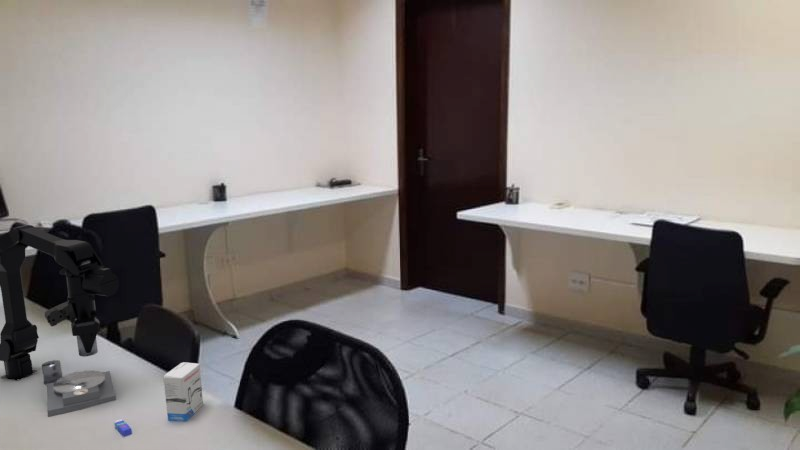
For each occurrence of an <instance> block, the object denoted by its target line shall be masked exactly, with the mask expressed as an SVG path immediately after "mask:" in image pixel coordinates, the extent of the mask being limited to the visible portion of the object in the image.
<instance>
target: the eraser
mask: <svg viewBox="0 0 800 450" xmlns="http://www.w3.org/2000/svg"><path fill="white" fill-rule="evenodd" d="M113 425H114V428H115V430H116V431H118V433H120V435H121V436H122V437H123V438H124V437H127V436H130V435H132V434H133V432H132V431H133V430H132V427H130V425H129V424H127V423H126V422H125V420H124V419H122V418H120V419H117V420H114V422H113Z"/></svg>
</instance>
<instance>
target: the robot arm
mask: <svg viewBox="0 0 800 450" xmlns="http://www.w3.org/2000/svg"><path fill="white" fill-rule="evenodd" d="M28 247H30V248H33V249H35V250H37V251H40V252H42V253H45V254H47V255H50V256H51V257H53V258H54V260H55V263H57V264H58V265H60V266H62V267H63V268H62V269H61V270H60V271H59V275H61V276H62V275H63V276H65V277H66V278H65V279H66V286H67V295H68V296H67V301H65V302H63V303H60V304H58V305H55V306H53V307H50V309H47V310H46V311H45V312H44V317H45V320H46V321H47V323H48V324H49V325H50V327H51V328H52V327H54V326H58V324H60V323H62V322H64V321H65V320H68V319H69V321H70V323H71V325H70V326H71V335H72V337H77V336H80V338H81V341H82V343H83V346H84V349H85V351H86V353H90V352H91V350H92V347H93V344H94V341H95V338H96V339H97V335H98V333H100V332H101V325H100V324H101V323H100V320H99V319H98V318H97V315H98V314H97V309H96V302H95V301H96V300H95V299H96V298H95V295H96V296H97V295H98V296H105V297H112V296H113V295H115V294H116V293H117V291H118V289H119V286H120V280H119V278H118V276H117V275H116V274H114V273H112V269H111V268H110V267H109V268H108V267H105V264H103V262H102V259H101V258H100V257H99V256H98V253H97V252H96V251H95V249H94V248H93V247H92V245H91V244H90V243H89V242H88V241H85V240H80V239H63V238H61V237H59V236H56V235H53V234H51V233H49V232H46V231H44V230H41V229H39V228H36V227H35V226H34V225H31V224H25V225H19V226H14V227H13V228H12V229H10V230H9V231H8V232H6V233H4V234H3V235H1V236H0V292H1V298H2V307H3V313H4V319H5V323H4V324H3V328H2V329H1V331H0V362H3V365H4V373H5V375H3V376H1V377H0V378H1V379H5V380H11V381H21V380H22V379H24V378H28V377H29V376H31V375H33V374H35V373H38V370H36V369H33V364H32V358H31V354H30V353H32V352H36V351H37V345H38V339H39V338H40V337H39V335H38V326H37V325H36V324H33V323H31V322H30V321H29V319H28V316H27V309H26V304H25V303H26V301H25V296H24V295H25V294H24V286H23V280H22V273H21V268H22V266H23V263H24V262H25V260H26V249H27V248H28ZM104 267H105V268H104Z"/></svg>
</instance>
